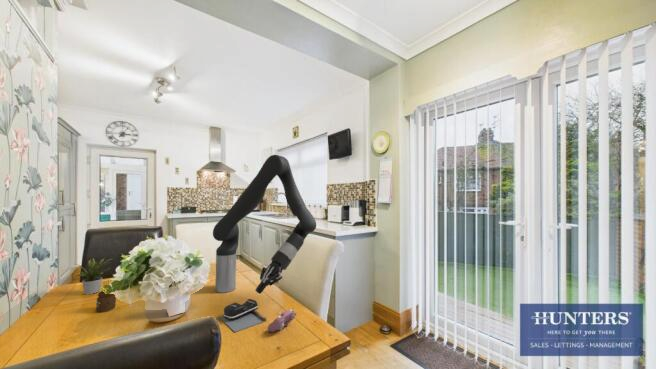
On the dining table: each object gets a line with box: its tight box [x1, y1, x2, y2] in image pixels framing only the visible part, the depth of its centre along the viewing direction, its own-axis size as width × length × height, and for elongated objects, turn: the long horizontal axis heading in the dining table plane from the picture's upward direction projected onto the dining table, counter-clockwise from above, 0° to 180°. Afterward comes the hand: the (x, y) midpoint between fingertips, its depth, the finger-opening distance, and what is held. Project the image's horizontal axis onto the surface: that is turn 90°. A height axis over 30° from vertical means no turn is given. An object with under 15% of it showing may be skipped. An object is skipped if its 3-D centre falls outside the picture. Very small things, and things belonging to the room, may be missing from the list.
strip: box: [252, 309, 267, 323], centre depth 98 cm, size 14×1×1 cm, turn 43°
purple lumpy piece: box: [267, 308, 297, 333], centre depth 89 cm, size 10×5×7 cm, turn 149°
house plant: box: [75, 258, 112, 295], centre depth 120 cm, size 14×14×16 cm
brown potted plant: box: [95, 279, 117, 313], centre depth 102 cm, size 6×6×12 cm
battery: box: [223, 298, 259, 320], centre depth 98 cm, size 7×4×11 cm
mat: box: [219, 312, 264, 333], centre depth 94 cm, size 14×11×1 cm
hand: (257, 292), depth 99 cm, fingers closed
